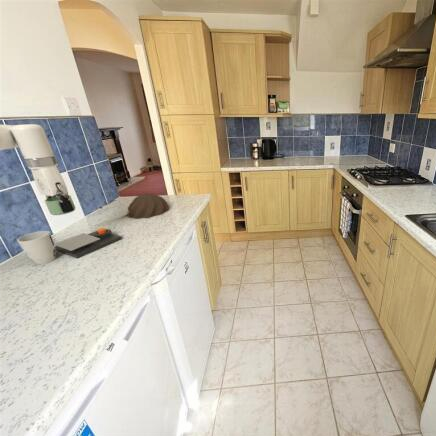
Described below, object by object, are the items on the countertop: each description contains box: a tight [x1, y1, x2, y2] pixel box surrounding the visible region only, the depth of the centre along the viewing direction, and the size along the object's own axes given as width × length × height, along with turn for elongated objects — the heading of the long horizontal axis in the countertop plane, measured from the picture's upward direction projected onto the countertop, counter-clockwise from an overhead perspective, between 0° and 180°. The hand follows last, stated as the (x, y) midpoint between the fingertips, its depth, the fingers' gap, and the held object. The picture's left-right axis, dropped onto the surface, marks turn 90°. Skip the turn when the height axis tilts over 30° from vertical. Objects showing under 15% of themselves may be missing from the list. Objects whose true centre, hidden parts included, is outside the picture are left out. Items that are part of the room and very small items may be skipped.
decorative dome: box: [127, 192, 170, 220], centre depth 128 cm, size 19×20×10 cm
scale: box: [54, 228, 123, 259], centre depth 98 cm, size 16×16×3 cm
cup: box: [17, 230, 57, 265], centre depth 86 cm, size 8×8×10 cm
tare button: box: [96, 227, 107, 234], centre depth 101 cm, size 3×3×2 cm
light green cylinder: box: [44, 194, 76, 216], centre depth 90 cm, size 7×7×6 cm
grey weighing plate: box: [54, 232, 100, 251], centre depth 94 cm, size 12×10×1 cm
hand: (62, 209), depth 91 cm, fingers closed on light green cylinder, 7 cm apart
